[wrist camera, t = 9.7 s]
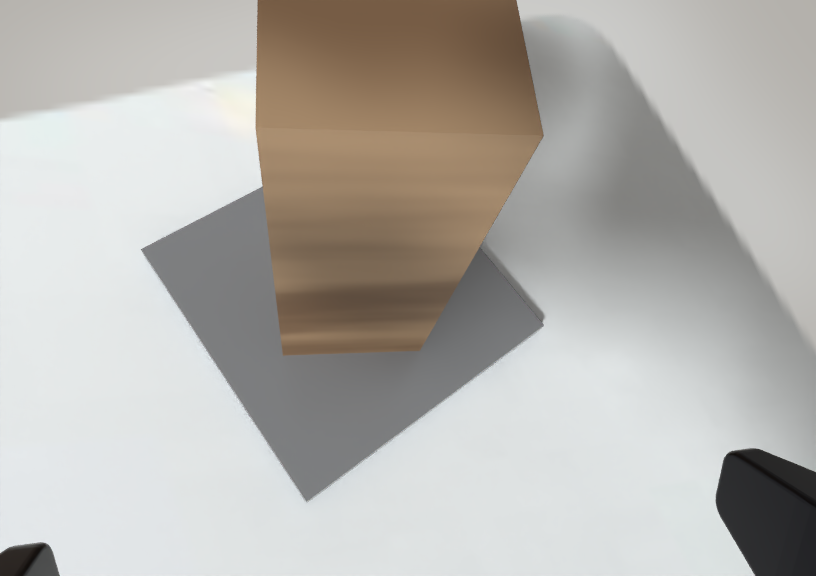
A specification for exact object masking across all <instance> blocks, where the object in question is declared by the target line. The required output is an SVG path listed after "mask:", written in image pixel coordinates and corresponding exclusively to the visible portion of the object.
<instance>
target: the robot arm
mask: <svg viewBox="0 0 816 576" xmlns="http://www.w3.org/2000/svg"><path fill="white" fill-rule="evenodd" d="M716 506H717V510H718V512H719V515H720V517H721V518H722V520H723V522H724V524H725V525H726V527H727V529H728V530H729V532H730V534H731V535H732V537H733V539H734V540H735V542H736V544H737V546H738V547H739V549H740V551H741V552H742V554H743V556H744V557H745V559H746V561H747V563H748V564H749V566H750V568H751V569H752V571H753V573H754V574H755V576H816V472H814V471H812V470H809V469H807V468H804V467H802V466H799V465H797V464H794V463H792V462H790V461H787V460H785V459H782V458H780V457H777V456H775V455H772V454H770V453H768V452H765V451H763V450H760V449H755V448H750V449H743V450H735V451H731V452H729V453H728V454H727V455H726V456H725V457H724V460H723V465H722V469H721V474H720V479H719V483H718V488H717V492H716ZM0 576H60V575H59V572H58V568H57V565H56V562H55V558H54V555H53V552H52V549H51V548H50V546H49V545H48V544H46V543H42V542H40V543H32V544H25V545H17V546H13V547H9V548H7V549H6V550H4V551H3V552H2V553H0Z"/></svg>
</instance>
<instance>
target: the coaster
mask: <svg viewBox="0 0 816 576" xmlns="http://www.w3.org/2000/svg"><path fill="white" fill-rule="evenodd" d="M141 250H142V252H143V254H144V256H145V257H146V259H147V260H148V262H149V264H150V265H151V267H152V268H153V270H154V271H155V273H156V274H157V276H158V277H159V279H160V280H161V282H162V283H163V285H164V286H165V288H166V289H167V291H168V293H169V294H170V296H171V297H172V299H173V300H174V302H175V303H176V305H177V306H178V308H179V309H180V311H181V312H182V314H183V315H184V317H185V318H186V320H187V321H188V323H189V325H190V326H191V328H192V329H193V331H194V332H195V334H196V335H197V337H198V338H199V340H200V341H201V343H202V344H203V346H204V347H205V349H206V350H207V352H208V354H209V355H210V357H211V358H212V360H213V361H214V363H215V364H216V366H217V367H218V369H219V370H220V372H221V373H222V375H223V376H224V378H225V379H226V381H227V382H228V384H229V386H230V387H231V389H232V390H233V392H234V393H235V395H236V396H237V398H238V399H239V401H240V402H241V404H242V405H243V407H244V408H245V410H246V411H247V413H248V415H249V416H250V418H251V419H252V421H253V422H254V424H255V425H256V427H257V428H258V430H259V431H260V433H261V434H262V436H263V437H264V439H265V440H266V442H267V444H268V445H269V447H270V448H271V450H272V451H273V453H274V454H275V456H276V457H277V459H278V460H279V462H280V463H281V465H282V466H283V468H284V469H285V471H286V472H287V474H288V476H289V477H290V479H291V480H292V482H293V483H294V485H295V486H296V488H297V489H298V491H299V492H300V494H301V495H302V497H303V498H304V500H305V501H306V503H307V502H309V501H310V500H311V499H313V498H314V497H315V496H317V495H318V494H320V493H321V492H322V491H324V490H325V489H326V488H328V487H329V486H330V485H332V484H333V483H334V482H336V481H337V480H338V479H340V478H341V477H342V476H344V475H345V474H346V473H348V472H349V471H350V470H352V469H353V468H354V467H356V466H357V465H359V464H360V463H361V462H363V461H364V460H365V459H367V458H368V457H369V456H371V455H372V454H373V453H375V452H376V451H377V450H379V449H380V448H381V447H383V446H384V445H385V444H387V443H388V442H389V441H391V440H392V439H393V438H395V437H396V436H398V435H399V434H400V433H402V432H403V431H404V430H406V429H407V428H408V427H410V426H411V425H412V424H414V423H415V422H416V421H418V420H419V419H420V418H422V417H423V416H424V415H426V414H427V413H428V412H430V411H431V410H432V409H434V408H435V407H437V406H438V405H439V404H441V403H442V402H443V401H445V400H446V399H447V398H449V397H450V396H451V395H453V394H454V393H455V392H457V391H458V390H459V389H461V388H462V387H463V386H465V385H466V384H467V383H469V382H470V381H471V380H473V379H474V378H476V377H477V376H478V375H480V374H481V373H482V372H484V371H485V370H486V369H488V368H489V367H490V366H492V365H493V364H494V363H496V362H497V361H498V360H500V359H501V358H502V357H504V356H505V355H506V354H508V353H509V352H510V351H512V350H513V349H515V348H516V347H517V346H519V345H520V344H521V343H523V342H524V341H525V340H527V339H528V338H529V337H531V336H532V335H533V334H535V333H536V332H537V331H539V330H540V329H541V328H542V327H543V326H544V325H543V323H542V322H541V321H540V320H539V318H538V317H537V316H536V315H535V314H534V312H533V311H532V310H531V309H530V308H529V306H528V305H527V304H526V303H525V302H524V300H523V299H522V298H521V297H520V295H519V294H518V293H517V292H516V291H515V289H514V288H513V287H512V286H511V285H510V283H509V282H508V281H507V280H506V279H505V277H504V276H503V275H502V274H501V272H500V271H499V270H498V269H497V268H496V266H495V265H494V264H493V263H492V262H491V260H490V259H489V258H488V257H487V256H486V254H485V253H484V252H483V251H482V249H481V248H480V247H479V249H478V251H477V252H476V254H475V256H474V257H473V259H472V261H471V263H470V264H469V266H468V268H467V270H466V271H465V273H464V275H463V277H462V278H461V280H460V282H459V284H458V285H457V287H456V289H455V291H454V292H453V294H452V296H451V297H450V299H449V301H448V303H447V304H446V306H445V308H444V310H443V311H442V313H441V315H440V317H439V318H438V320H437V322H436V324H435V325H434V327H433V329H432V331H431V332H430V334H429V336H428V337H427V339H426V341H425V343H424V344H423V346H422V348H421V350H420V351H401V352H372V353H343V354H314V355H285V356H283V353H282V345H281V336H280V328H279V319H278V311H277V303H276V294H275V286H274V277H273V269H272V261H271V252H270V244H269V235H268V227H267V219H266V210H265V202H264V193H263V187H261V188H259V189H257V190H256V191H254V192H252V193H250V194H248V195H246V196H244V197H242V198H240V199H238V200H236V201H234V202H232V203H230V204H228V205H226V206H224V207H222V208H221V209H219V210H217V211H215V212H213V213H211V214H209V215H207V216H205V217H203V218H201V219H199V220H197V221H195V222H193V223H191V224H189V225H187V226H186V227H184V228H182V229H180V230H178V231H176V232H174V233H172V234H170V235H168V236H166V237H164V238H162V239H160V240H158V241H156V242H154V243H152V244H151V245H149V246H147V247H145V248H143V249H141Z"/></svg>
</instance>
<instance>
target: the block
mask: <svg viewBox="0 0 816 576" xmlns="http://www.w3.org/2000/svg"><path fill="white" fill-rule="evenodd" d="M257 17H258V18H257V19H258V20H257V76H256V135H257V143H258V151H259V160H260V168H261V177H262V185H263V193H264V202H265V210H266V219H267V227H268V235H269V244H270V252H271V261H272V269H273V277H274V286H275V294H276V303H277V311H278V319H279V328H280V336H281V345H282V353H283V356H285V355H314V354H343V353H372V352H401V351H420V350H421V348H422V346H423V344H424V343H425V341H426V339H427V337H428V336H429V334H430V332H431V331H432V329H433V327H434V325H435V324H436V322H437V320H438V318H439V317H440V315H441V313H442V311H443V310H444V308H445V306H446V304H447V303H448V301H449V299H450V297H451V296H452V294H453V292H454V291H455V289H456V287H457V285H458V284H459V282H460V280H461V278H462V277H463V275H464V273H465V271H466V270H467V268H468V266H469V264H470V263H471V261H472V259H473V257H474V256H475V254H476V252H477V251H478V249H479V247H480V245H481V244H482V242H483V240H484V238H485V237H486V235H487V233H488V231H489V230H490V228H491V226H492V224H493V223H494V221H495V219H496V217H497V216H498V214H499V212H500V211H501V209H502V207H503V205H504V204H505V202H506V200H507V198H508V197H509V195H510V193H511V191H512V190H513V188H514V186H515V184H516V183H517V181H518V179H519V177H520V176H521V174H522V172H523V171H524V169H525V167H526V165H527V164H528V162H529V160H530V158H531V157H532V155H533V153H534V151H535V150H536V148H537V146H538V144H539V143H540V141H541V139H542V137H543V136H544V135H543V131H542V126H541V121H540V116H539V111H538V106H537V101H536V96H535V91H534V86H533V81H532V76H531V71H530V66H529V61H528V56H527V51H526V46H525V41H524V36H523V31H522V26H521V21H520V16H519V11H518V7H517V1H516V0H258V16H257Z"/></svg>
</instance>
